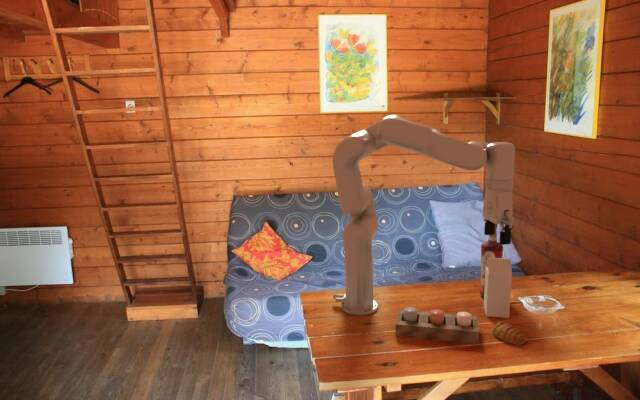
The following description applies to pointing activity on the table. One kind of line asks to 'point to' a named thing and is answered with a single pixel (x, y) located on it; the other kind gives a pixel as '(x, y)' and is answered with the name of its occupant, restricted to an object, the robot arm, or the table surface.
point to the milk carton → (497, 287)
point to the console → (437, 328)
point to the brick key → (436, 317)
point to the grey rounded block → (410, 314)
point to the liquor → (489, 255)
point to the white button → (464, 319)
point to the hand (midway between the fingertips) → (496, 239)
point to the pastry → (509, 333)
